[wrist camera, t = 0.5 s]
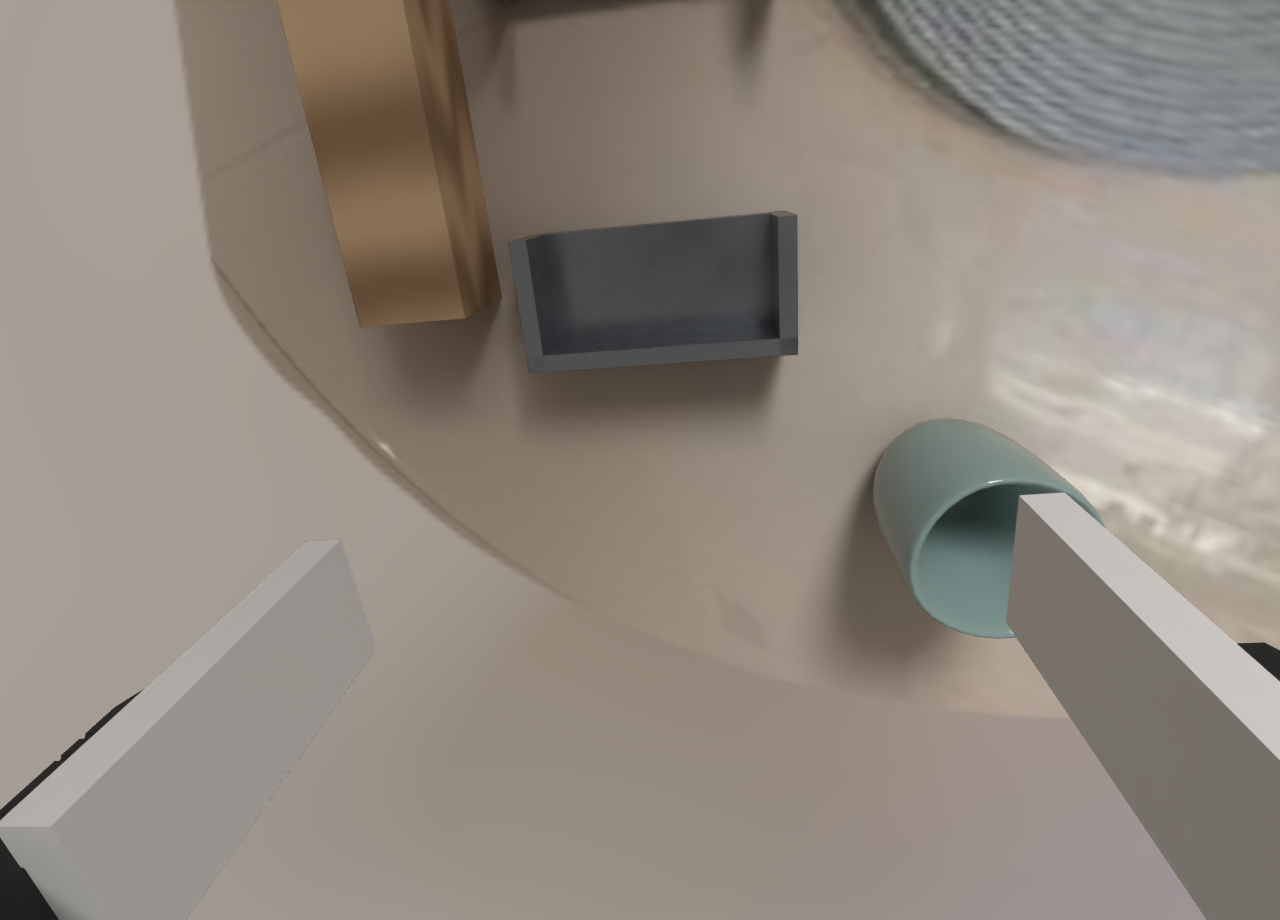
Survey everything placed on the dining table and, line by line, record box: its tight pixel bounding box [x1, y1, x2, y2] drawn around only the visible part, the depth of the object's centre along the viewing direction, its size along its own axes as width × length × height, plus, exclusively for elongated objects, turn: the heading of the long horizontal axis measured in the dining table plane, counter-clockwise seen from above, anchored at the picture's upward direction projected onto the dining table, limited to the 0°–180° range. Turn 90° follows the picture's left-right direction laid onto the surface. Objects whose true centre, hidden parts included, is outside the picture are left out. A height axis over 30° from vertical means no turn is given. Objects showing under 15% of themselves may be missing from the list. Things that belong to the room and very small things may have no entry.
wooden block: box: [277, 0, 502, 328], centre depth 30 cm, size 16×5×6 cm, turn 6°
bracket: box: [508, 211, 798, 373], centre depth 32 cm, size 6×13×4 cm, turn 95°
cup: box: [873, 418, 1105, 639], centre depth 32 cm, size 8×8×10 cm
